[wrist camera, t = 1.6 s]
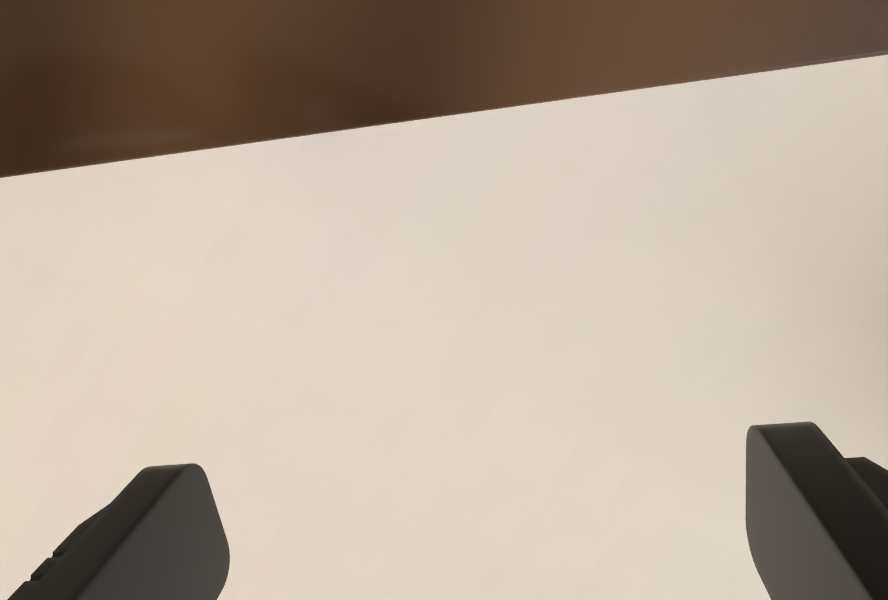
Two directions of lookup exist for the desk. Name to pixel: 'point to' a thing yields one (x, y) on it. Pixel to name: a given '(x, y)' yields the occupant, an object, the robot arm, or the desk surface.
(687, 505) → the desk surface
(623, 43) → the small table
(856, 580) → the robot arm
